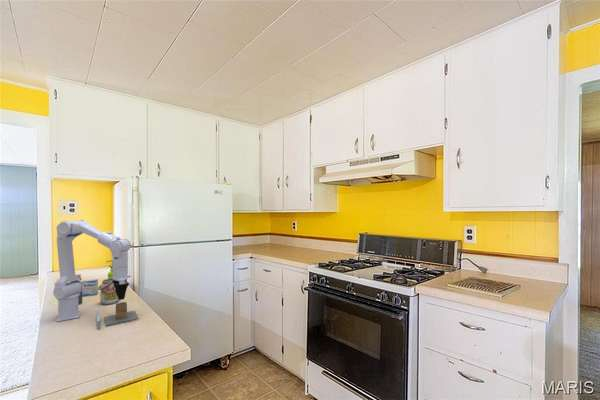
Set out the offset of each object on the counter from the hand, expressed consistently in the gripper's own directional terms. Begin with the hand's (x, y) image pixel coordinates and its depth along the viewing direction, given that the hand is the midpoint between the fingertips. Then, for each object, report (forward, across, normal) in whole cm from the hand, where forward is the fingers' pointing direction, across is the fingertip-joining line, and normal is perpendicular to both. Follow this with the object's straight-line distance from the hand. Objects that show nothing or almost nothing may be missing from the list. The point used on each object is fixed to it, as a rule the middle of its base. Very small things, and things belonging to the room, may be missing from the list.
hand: (120, 297), depth 130 cm
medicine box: (+10, +56, +11) cm, 57 cm away
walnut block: (+9, 0, 0) cm, 9 cm away
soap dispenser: (+10, +46, 0) cm, 47 cm away
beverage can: (+10, +31, +3) cm, 32 cm away
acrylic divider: (+9, 0, +8) cm, 12 cm away
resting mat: (+9, 0, 0) cm, 9 cm away
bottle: (+10, +40, +17) cm, 44 cm away
